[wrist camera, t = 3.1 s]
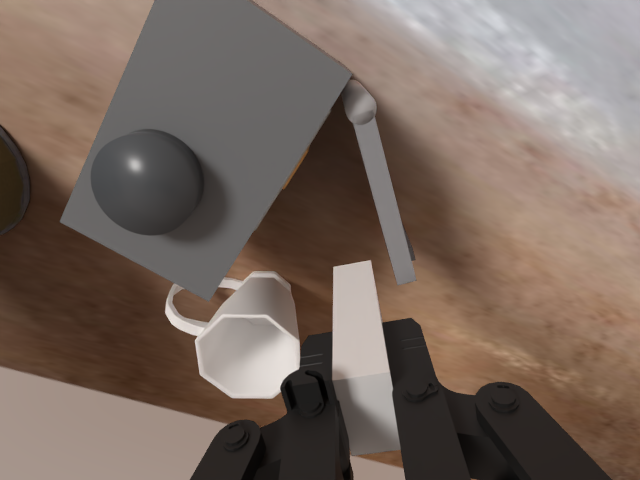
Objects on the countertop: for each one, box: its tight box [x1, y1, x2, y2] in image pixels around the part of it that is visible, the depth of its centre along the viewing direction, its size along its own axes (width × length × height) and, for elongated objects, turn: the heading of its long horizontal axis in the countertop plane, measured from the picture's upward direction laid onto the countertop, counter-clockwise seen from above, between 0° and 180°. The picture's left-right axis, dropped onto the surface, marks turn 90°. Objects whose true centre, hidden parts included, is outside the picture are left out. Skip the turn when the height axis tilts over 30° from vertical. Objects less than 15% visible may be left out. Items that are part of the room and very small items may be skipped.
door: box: [341, 80, 416, 285], centre depth 25 cm, size 2×10×9 cm, turn 18°
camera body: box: [60, 0, 352, 301], centre depth 24 cm, size 8×13×12 cm, turn 147°
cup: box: [165, 271, 300, 399], centre depth 31 cm, size 7×10×8 cm
